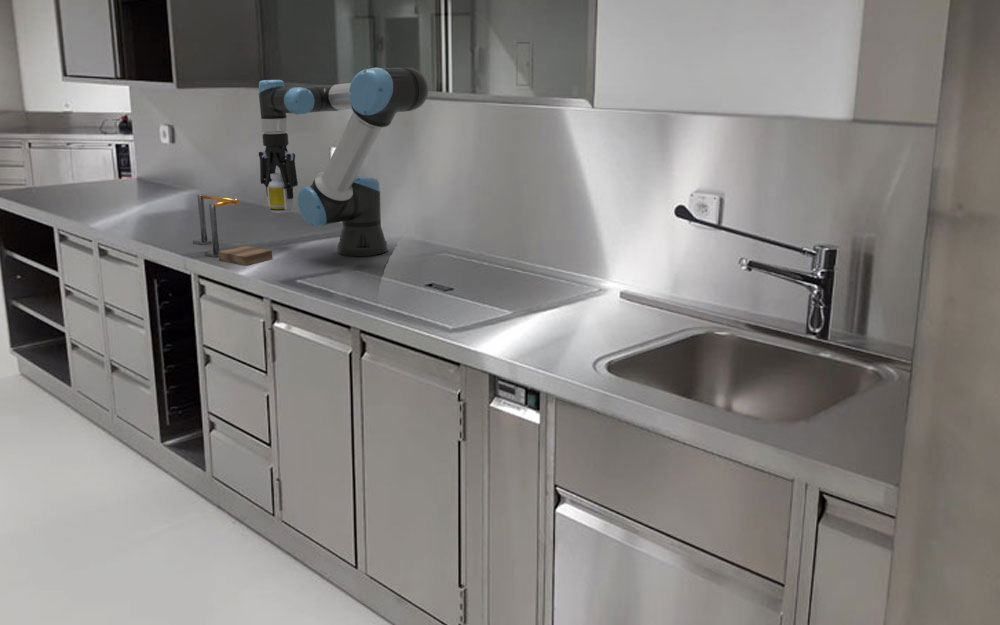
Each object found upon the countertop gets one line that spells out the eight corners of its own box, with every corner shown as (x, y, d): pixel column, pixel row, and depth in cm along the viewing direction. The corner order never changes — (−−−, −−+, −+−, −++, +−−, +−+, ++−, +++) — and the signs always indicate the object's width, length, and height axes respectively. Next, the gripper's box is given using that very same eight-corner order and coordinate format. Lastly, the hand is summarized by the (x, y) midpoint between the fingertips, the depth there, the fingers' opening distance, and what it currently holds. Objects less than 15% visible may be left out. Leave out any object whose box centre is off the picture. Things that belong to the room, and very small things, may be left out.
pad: (272, 258, 275) (271, 250, 275) (246, 265, 267) (245, 257, 267) (245, 253, 282) (244, 245, 281) (218, 259, 274) (218, 251, 273)
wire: (251, 248, 288) (247, 198, 283) (215, 257, 277) (210, 204, 272) (205, 240, 300) (201, 191, 295) (169, 248, 289) (164, 197, 284)
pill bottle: (286, 213, 282) (283, 175, 279) (266, 212, 283) (263, 174, 280) (295, 209, 288) (292, 172, 285) (275, 209, 289) (272, 172, 286)
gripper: (306, 132, 277) (312, 209, 283) (262, 130, 287) (268, 204, 294) (288, 134, 271) (293, 212, 277) (243, 132, 282) (250, 207, 288)
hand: (280, 208), depth 286 cm, fingers closed on pill bottle, 6 cm apart
